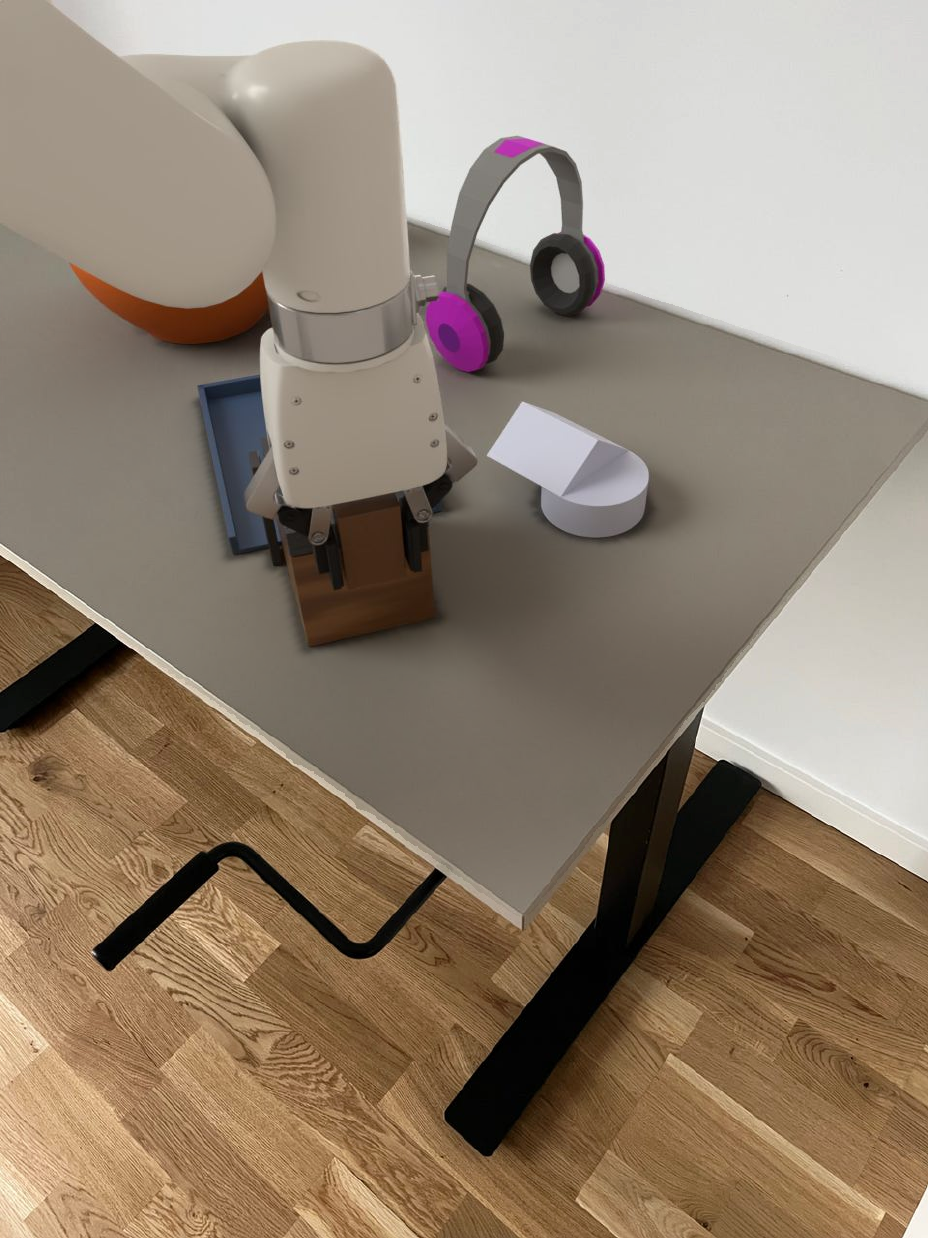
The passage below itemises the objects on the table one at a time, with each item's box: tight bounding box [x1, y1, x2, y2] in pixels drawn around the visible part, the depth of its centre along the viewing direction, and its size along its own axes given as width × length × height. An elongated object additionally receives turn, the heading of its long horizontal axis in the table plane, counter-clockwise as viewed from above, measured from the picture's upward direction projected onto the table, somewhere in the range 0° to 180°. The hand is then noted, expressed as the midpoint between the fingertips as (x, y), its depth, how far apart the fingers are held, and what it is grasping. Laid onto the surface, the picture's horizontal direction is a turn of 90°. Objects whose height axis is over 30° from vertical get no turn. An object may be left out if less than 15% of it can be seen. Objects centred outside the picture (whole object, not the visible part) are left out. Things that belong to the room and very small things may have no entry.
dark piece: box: [260, 437, 430, 590], centre depth 69 cm, size 18×10×7 cm, turn 17°
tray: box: [196, 373, 442, 555], centre depth 92 cm, size 25×18×2 cm
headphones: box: [425, 135, 606, 373], centre depth 100 cm, size 21×9×20 cm, turn 136°
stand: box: [248, 451, 436, 648], centre depth 76 cm, size 12×12×10 cm
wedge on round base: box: [486, 401, 650, 539], centre depth 85 cm, size 9×7×13 cm
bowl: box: [68, 262, 269, 345], centre depth 109 cm, size 25×25×10 cm
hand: (373, 565), depth 65 cm, fingers open, 4 cm apart
